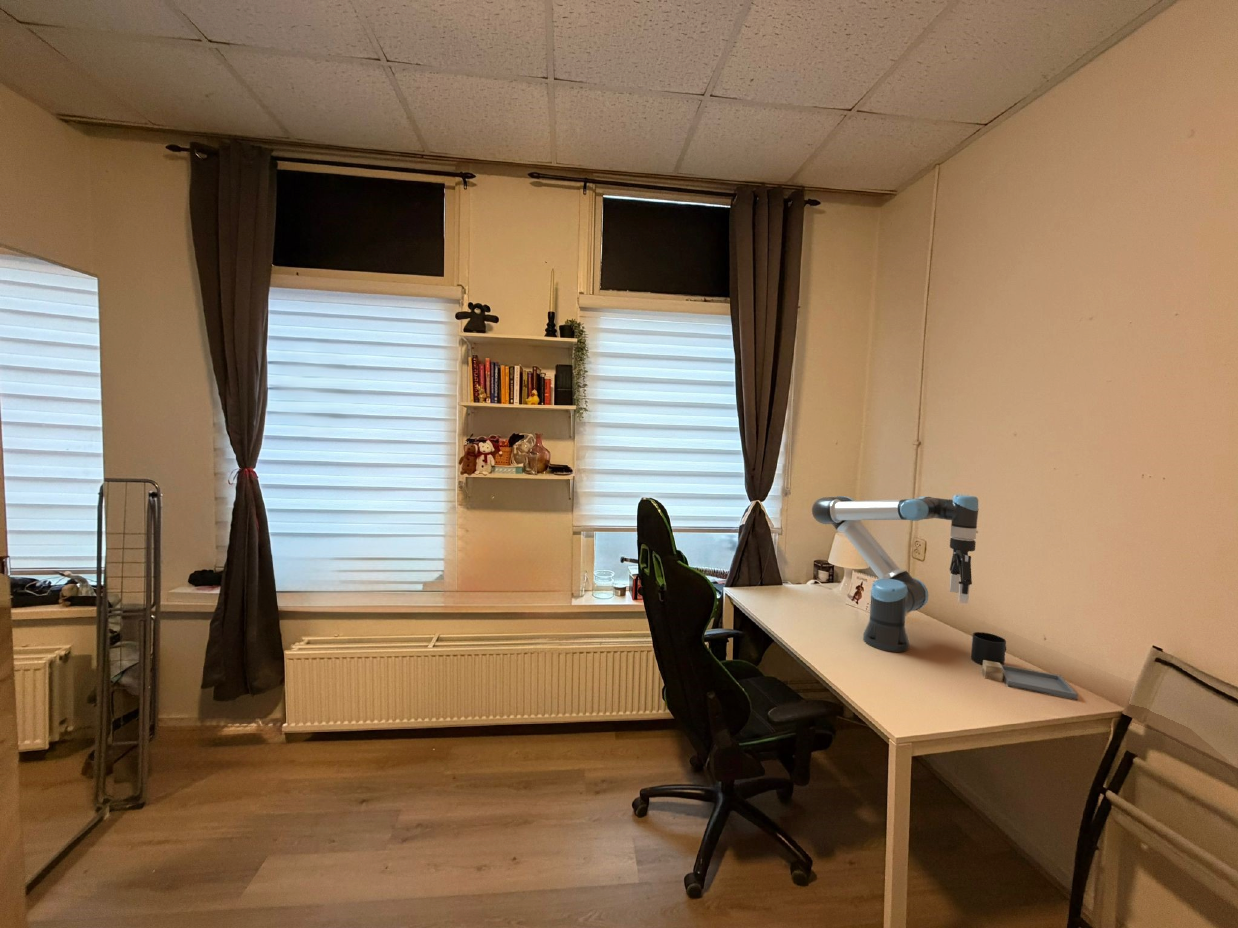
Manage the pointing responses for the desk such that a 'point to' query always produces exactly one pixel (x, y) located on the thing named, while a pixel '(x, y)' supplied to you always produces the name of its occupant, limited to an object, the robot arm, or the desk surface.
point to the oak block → (992, 670)
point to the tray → (1037, 682)
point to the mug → (988, 648)
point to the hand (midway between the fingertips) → (958, 597)
